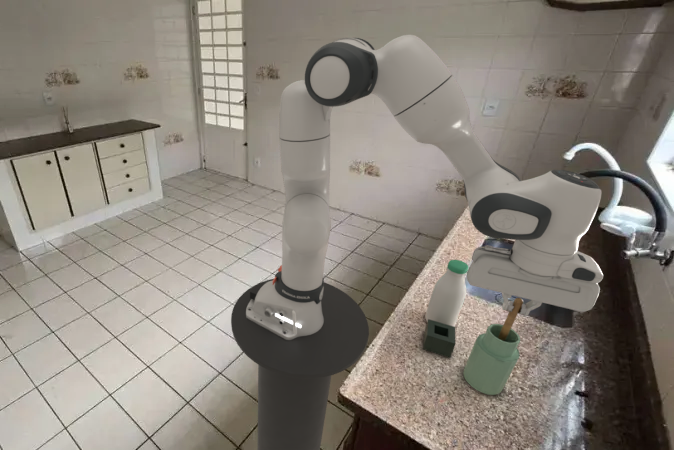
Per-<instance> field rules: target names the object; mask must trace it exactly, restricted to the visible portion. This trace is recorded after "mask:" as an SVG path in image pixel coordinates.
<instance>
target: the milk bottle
mask: <svg viewBox="0 0 674 450" xmlns="http://www.w3.org/2000/svg"><path fill="white" fill-rule="evenodd" d="M468 269H469V265H468V264H467V263H466V262H465V261H463V260H459V259H451V260H449V261H448V263H447V266H446V271H445V273H444V274H443V275H442V276H440V278H438V279H437V281H436V282H435V284H434V287H433V290H432V292H431V295H430V298H429V301H428V305H427V309H426V312H425V315H424V318H425V321H426V323H427V322H428V319H429V320H433V321H436V322H440V323H443V324H447V325H450V326H454V327H455V328H456V324H457V322H458V319H459V316H460V314H461V310H462V308H463V305H464V302H465V300H466V297H467V285H466V281H465V280H466V279H465V276H467V271H468Z"/></svg>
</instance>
